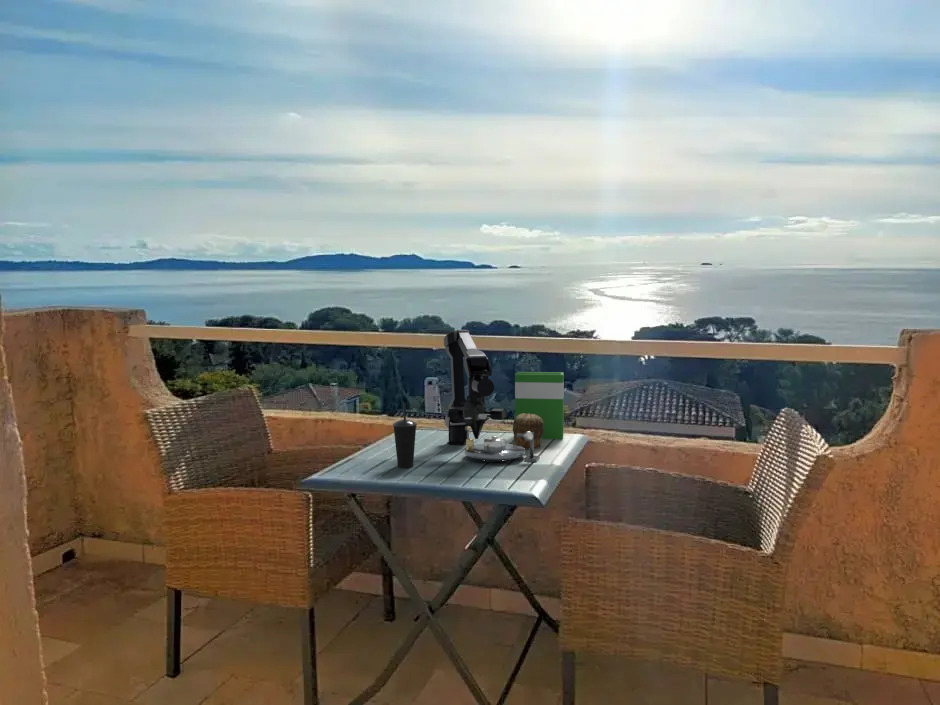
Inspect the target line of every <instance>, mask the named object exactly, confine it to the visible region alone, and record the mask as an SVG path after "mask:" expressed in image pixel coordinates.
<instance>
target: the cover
mask: <svg viewBox="0 0 940 705" xmlns="http://www.w3.org/2000/svg"><path fill="white" fill-rule="evenodd" d="M483 444H484V450H485V451H488V452H501V451H505V444H506V438H504V437H499V436H497V435H493V436H491V437H485V438H483Z"/></svg>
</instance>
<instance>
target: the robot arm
mask: <svg viewBox="0 0 940 705" xmlns="http://www.w3.org/2000/svg"><path fill="white" fill-rule="evenodd" d="M443 345H444V347H445V352H446V354H447V356H448V357H449V359H450V373H451V374H450V375H451V401H450V402H449V404H448V406H447V407H448V408H447V412H446V415H445V419H444V425H445V427H446V428H448V441H447V442H446V444H447V445H448V444H449V445H466V439H469V438H470V430H469V429H468V427H470V429H471V432H472V434H473V437H474V439H475V440H478V439H479V437H480V434H481V432H482V429H483V427H484V424H485V423H486V422H487V421H489V419H491V420H494V421H495V420H496V421H501V420H503V419H505V418H506V417H507V412H506V410H505V408H493V409H490V410H486V408H487V407H486V397H490V396H491V395H492V394H493V393H494V391H495V385H494V382H493V381H492V380H491V379H489V376H492V372H493V369H492V366H491V362H490V360H489V358H488V357H487V355H486V353H484V351H482V350H480V349H478V348H477V345H476V344H475V342H474V340H473V338H472V336H471V332H470V330H468V329H456V330H454V331H453V332H450V333H447V334H445V336H444V338H443ZM464 369H465V372H464ZM465 373H466V376H467V396H466V395H465V394H466V390H465V389H466V388H465Z"/></svg>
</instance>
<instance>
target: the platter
mask: <svg viewBox="0 0 940 705" xmlns="http://www.w3.org/2000/svg"><path fill="white" fill-rule="evenodd" d="M474 439H475V438H472V437H471V438H470V437H469V439H466V444H465V446H466V447H465V448H464V450H463V452H464V455H465V456H466V457H468V458H472V459H475V460H476V459H477V460H478V459H481V460H509V459H511V460H514V459H515V460H516V459H519V458H522V457H523V456H525V455H526V449H524V448H523V447H521V446H517V445H515V444H513V443H505V451H501V452H488V451H485V450H484V443H479V444H474ZM481 460H480V461H481ZM509 461H510V460H509Z"/></svg>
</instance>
